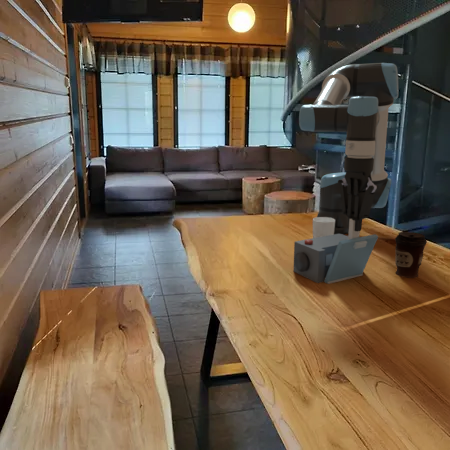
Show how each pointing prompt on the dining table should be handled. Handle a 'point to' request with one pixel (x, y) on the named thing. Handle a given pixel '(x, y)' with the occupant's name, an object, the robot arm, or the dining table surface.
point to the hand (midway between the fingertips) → (353, 241)
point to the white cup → (323, 226)
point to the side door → (350, 258)
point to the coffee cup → (409, 253)
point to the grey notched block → (315, 256)
